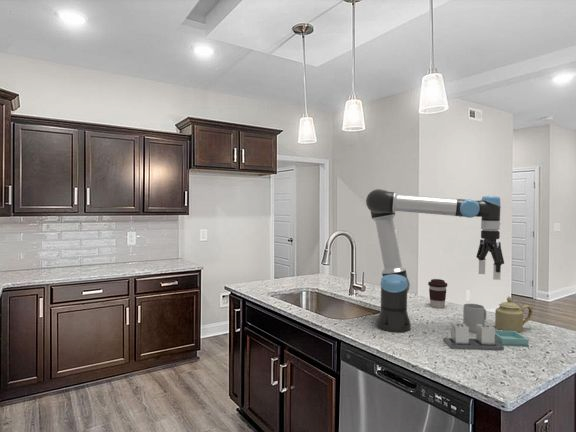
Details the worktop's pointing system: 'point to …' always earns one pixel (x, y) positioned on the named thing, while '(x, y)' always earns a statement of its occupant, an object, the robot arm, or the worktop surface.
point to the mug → (473, 316)
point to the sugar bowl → (511, 316)
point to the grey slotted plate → (473, 345)
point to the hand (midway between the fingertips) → (488, 276)
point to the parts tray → (510, 338)
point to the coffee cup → (437, 293)
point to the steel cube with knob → (485, 334)
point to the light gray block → (459, 334)
